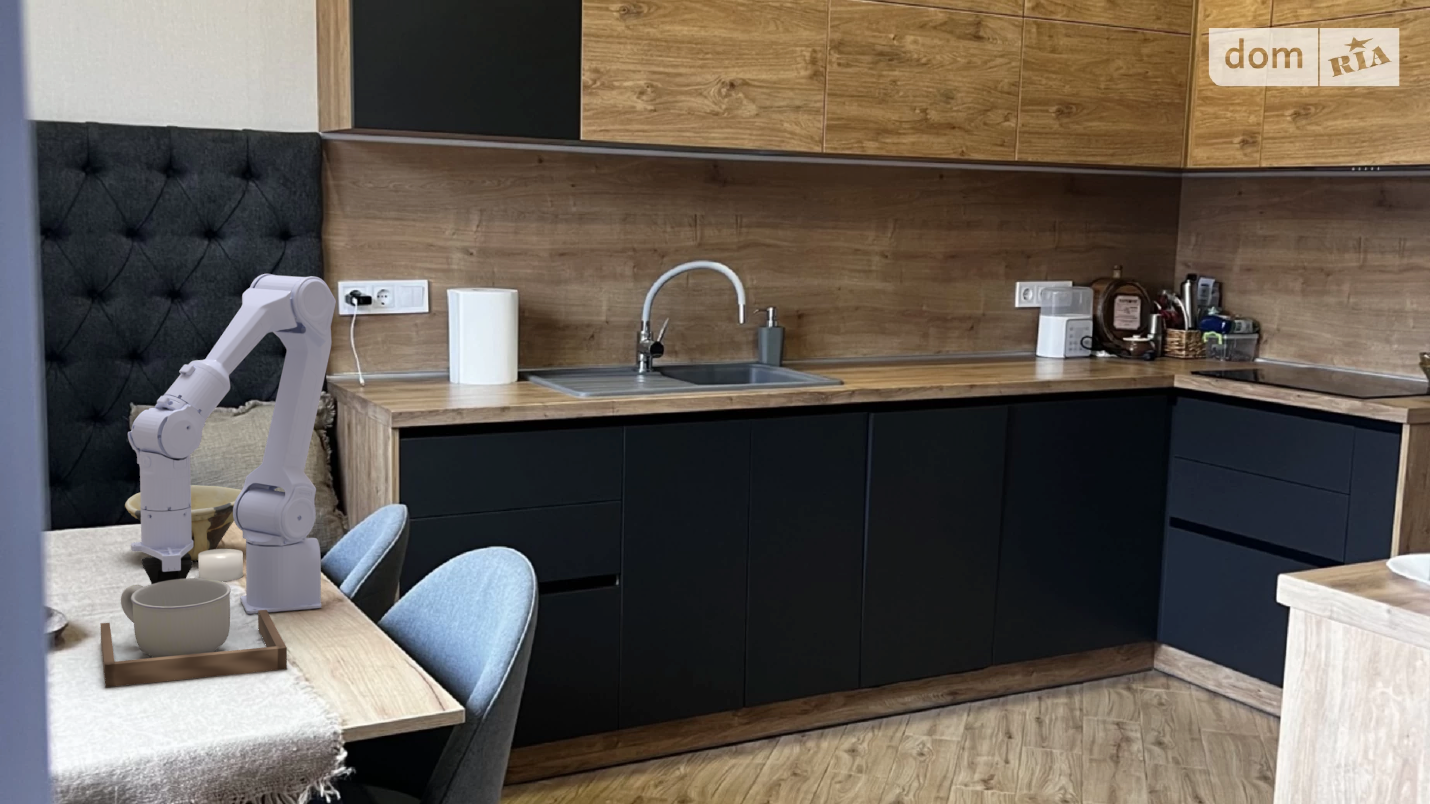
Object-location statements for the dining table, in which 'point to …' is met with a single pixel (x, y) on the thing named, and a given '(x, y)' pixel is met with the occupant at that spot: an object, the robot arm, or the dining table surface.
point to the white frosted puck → (221, 564)
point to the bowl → (202, 515)
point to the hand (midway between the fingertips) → (167, 615)
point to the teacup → (179, 616)
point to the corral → (195, 660)
